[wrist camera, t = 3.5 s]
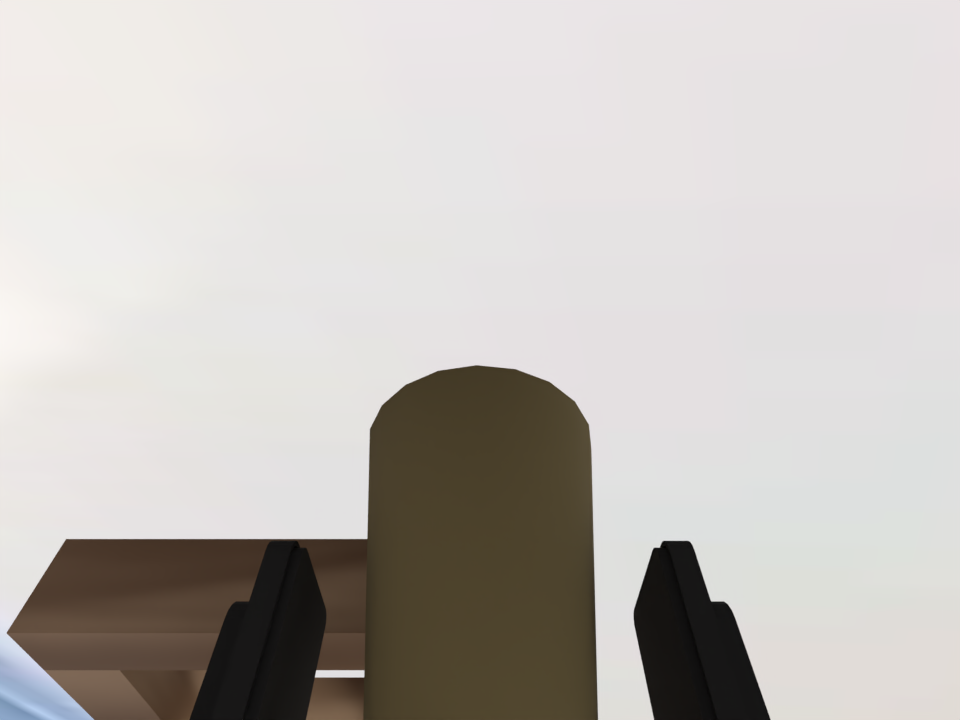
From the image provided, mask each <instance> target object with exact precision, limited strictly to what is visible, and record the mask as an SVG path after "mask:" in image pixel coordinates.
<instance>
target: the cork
mask: <svg viewBox="0 0 960 720" xmlns="http://www.w3.org/2000/svg"><path fill="white" fill-rule="evenodd" d="M363 720H598V696H597V656H596V615H595V574H594V534H593V493H592V453H591V440H590V430H589V424H588V422H587V421H586V419H585V417H584V416H583V414H582V412H581V411H580V409H579V407H578V406H577V404H576V402H575V401H574V400H573V399H571V398H570V397H569V396H567V395H566V394H565V393H563V392H562V391H561V390H560V389H558V388H557V387H556V386H554V385H553V384H552V383H550V382H549V381H546V380H543V379H541V378H538V377H535V376H533V375H530V374H527V373H525V372H522V371H519V370H517V369H510V368H500V367H490V366H480V365H474V366H467V367H461V368H454V369H447V370H440V371H436V372H434V373H432V374H429V375H427V376H425V377H422V378H420V379H418V380H415V381H413V382H411V383H409V384H406V385H405V386H403V387H402V388H401V389H400V390H399V391H398V392H397V393H395V394H394V395H393V396H392V397H391V398H390V399H389V400H387V401H386V402H385V403H384V404H383V405H382V406H381V408H380V410H379V412H378V414H377V416H376V418H375V420H374V422H373V424H372V426H371V428H370V443H369V488H368V533H367V577H366V622H365V667H364V711H363Z"/></svg>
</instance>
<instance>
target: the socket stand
mask: <svg viewBox="0 0 960 720" xmlns="http://www.w3.org/2000/svg"><path fill="white" fill-rule="evenodd" d="M271 541H298V543H299V545H300V548H307V550H308V553H309V557H310V560H311V563H312V566H313V569H314V573H315V576H316V579H317V582H318V585H319V588H320V592H321V595H322V598H323V601H324V604H325V608H326V626H325V631H324V636H323V641H322V645H321V650H320V655H319V660H318V665H317V669H316V670H364V667H365V622H366V577H367V539H66V540H65V541H64V543H63V545H62V546H61V548H60V549H59V551H58V552H57V554H56V556H55V557H54V559H53V560H52V562H51V563H50V565H49V567H48V568H47V570H46V571H45V573H44V574H43V576H42V578H41V579H40V581H39V582H38V584H37V586H36V587H35V589H34V590H33V592H32V593H31V595H30V597H29V598H28V600H27V601H26V603H25V604H24V606H23V608H22V609H21V611H20V612H19V614H18V615H17V617H16V619H15V620H14V622H13V623H12V625H11V626H10V628H9V630H8V631H7V634H8V635H9V636H10V637H11V638H12V639H13V640H14V641H15V642H16V643H17V644H18V645H19V646H20V647H21V648H22V649H23V650H24V651H25V652H26V653H27V654H28V655H29V656H30V657H31V658H32V659H33V660H34V661H35V662H36V663H37V664H38V665H39V666H40V667H41V668H42V669H43V670H44V671H45V672H46V673H47V674H48V675H49V676H50V677H51V678H52V679H53V680H54V681H55V682H56V683H57V684H58V685H59V686H60V687H62V688H63V689H64V690H65V691H66V692H67V693H68V694H69V695H70V696H71V697H72V698H73V699H74V700H75V701H76V702H77V703H78V704H79V705H80V706H81V707H82V708H83V709H84V710H85V711H86V712H87V713H88V714H89V715H90V716H91V717H92V718H93V719H94V720H189V719H190V716H191V713H192V711H193V708H194V705H195V702H196V699H197V696H198V693H199V690H200V688H201V685H202V682H203V679H204V676H205V673H206V670H207V668H208V665H209V662H210V659H211V656H212V653H213V650H214V647H215V645H216V642H217V639H218V636H219V633H220V630H221V627H222V625H223V622H224V619H225V616H226V614H227V612H228V610H229V608H230V607H231V605H232V604H233V603H234V602H236V601H249V600H250V597H251V594H252V590H253V587H254V584H255V581H256V578H257V575H258V572H259V569H260V566H261V563H262V559H263V556H264V553H265V550H266V548H267V545H268V544H269V542H271ZM363 711H364V677H315V679H314V684H313V688H312V693H311V698H310V703H309V708H308V712H307V717H306V720H363Z"/></svg>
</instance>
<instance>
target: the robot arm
mask: <svg viewBox="0 0 960 720" xmlns="http://www.w3.org/2000/svg"><path fill="white" fill-rule="evenodd" d="M325 626H326V608H325V604H324V601H323V598H322V595H321V592H320V588H319V585H318V582H317V579H316V576H315V573H314V569H313V566H312V563H311V560H310V557H309V553H308V550H307V548H300V545H299V543H298V541H271V542H269V544H268V545H267V548H266V550H265V553H264V556H263V559H262V563H261V566H260V569H259V572H258V575H257V578H256V581H255V584H254V587H253V590H252V594H251V597H250V600H249V601H236V602H234V603H233V604H232V605H231V607H230V608H229V610H228V612H227V614H226V616H225V619H224V622H223V625H222V627H221V630H220V633H219V636H218V639H217V642H216V645H215V647H214V650H213V653H212V656H211V659H210V662H209V665H208V668H207V670H206V673H205V676H204V679H203V682H202V685H201V688H200V690H199V693H198V696H197V699H196V702H195V705H194V708H193V711H192V713H191V716H190V719H189V720H306V717H307V712H308V708H309V703H310V698H311V693H312V688H313V684H314V679H315V674H316V669H317V665H318V660H319V655H320V650H321V645H322V641H323V636H324V631H325ZM634 626H635V631H636V636H637V641H638V645H639V650H640V655H641V660H642V664H643V669H644V674H645V679H646V684H647V688H648V693H649V698H650V703H651V708H652V712H653V717H654V720H771V719H770V716H769V713H768V710H767V708H766V705H765V702H764V699H763V696H762V693H761V690H760V688H759V685H758V682H757V679H756V676H755V673H754V670H753V667H752V665H751V662H750V659H749V656H748V653H747V650H746V647H745V645H744V642H743V639H742V636H741V633H740V630H739V627H738V625H737V622H736V619H735V616H734V614H733V612H732V610H731V608H730V607H729V605H728V604H727V603H726V602H724V601H711V600H710V597H709V594H708V590H707V587H706V584H705V581H704V578H703V575H702V572H701V569H700V566H699V563H698V559H697V556H696V553H695V550H694V548H693V545H692V544H691V542H690V541H662V543H661V546H660V548H653V550H652V553H651V557H650V560H649V563H648V566H647V569H646V573H645V576H644V579H643V582H642V585H641V588H640V592H639V595H638V598H637V601H636V604H635V608H634Z"/></svg>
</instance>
